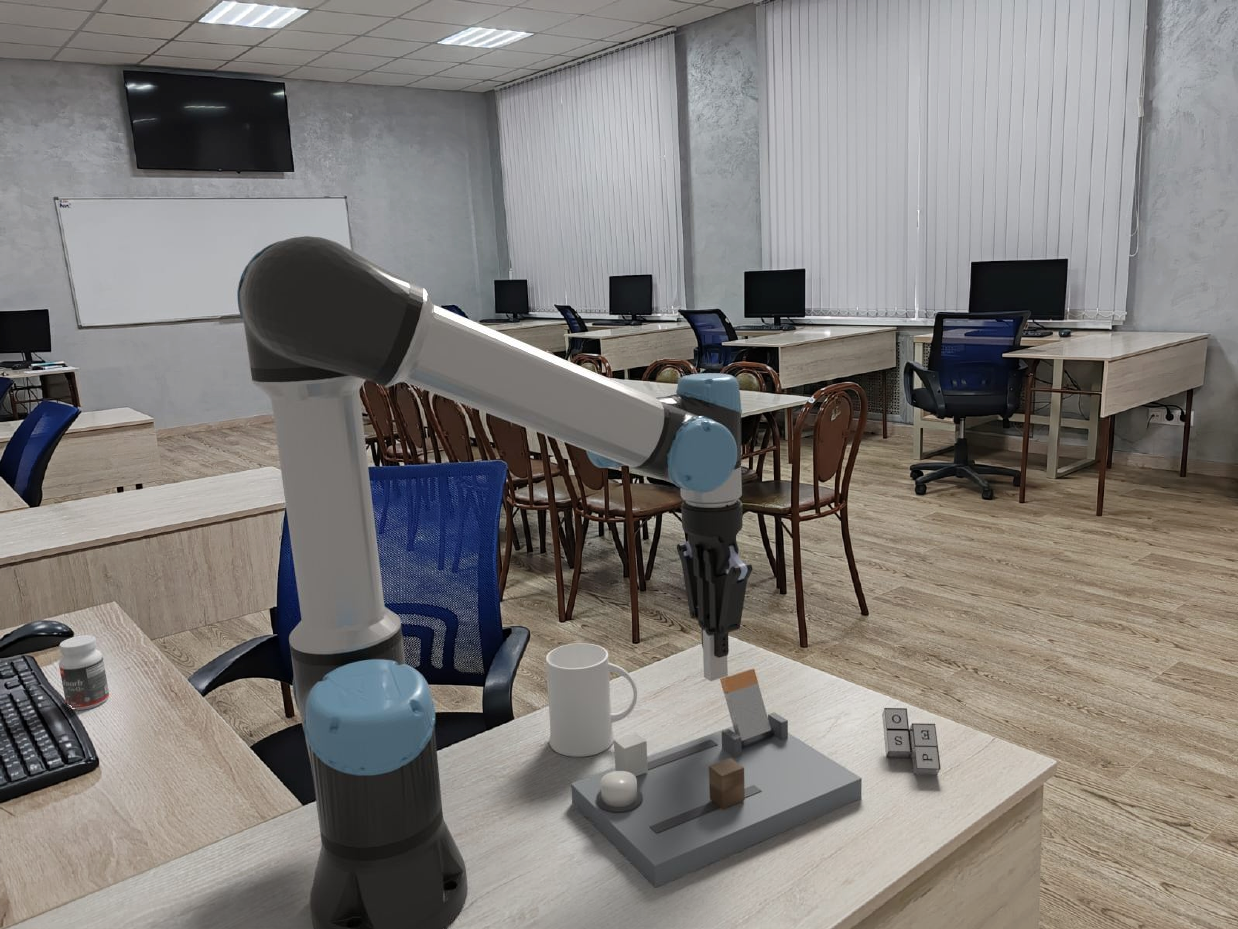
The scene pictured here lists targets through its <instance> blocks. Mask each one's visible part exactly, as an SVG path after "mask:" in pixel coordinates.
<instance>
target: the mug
mask: <svg viewBox="0 0 1238 929" xmlns="http://www.w3.org/2000/svg"><path fill="white" fill-rule="evenodd" d="M545 667H546V668H545V669H546V681H547V683H546V684H547V695H548V696H547V698H548V699H547V700H548V713H549V715H548V716H549V724H550V725H549V731H550V732H549V733H550V734H549V739H548V740H549V746H550V748H551V750H554V751H555V752H556V753H557V754H561V755H563V756H567V757H573V758H575V757H576V758H582V757H583V758H584V757H585V758H586V757H590V756H594V755H597V754H601V753H603V752H605V751H606V750H608V749H609V748H610V747H611V746H612V745H614V740H615V733H614V730H613V724H614V723H617V722H619V721H621V720H624V719H625V718H627V717H628V716H629V715H630V714H631V712H633V710H634V708H635V706H636V704H637V701H638V688H637V685H636V683H635V680H634V678H633V677H632V675H631V674H630V673H629V672H628V671H627V670H625V669H624V668H623V667H621V666H619V665H617V664H614V663H611V662H610V661H609V652H608V651H607V649H606V648H604V647H603V646H600V645H597V644H592V643H584V642H583V643H570V644H564V645H561V646H557V647H556V648H554V649H552V650H550V651H549V652H548V653H547V654H546V657H545ZM610 673H615V674H618V675H620V676H621V677H624V679H626V680H627V682H629V684H630V686H631V688H632V692H633V697H632V700H631V703H630V704H629V706H628V707H627V708H626V709H624V710H623V711H620V712H616V713H615V712H613V713H612V705H611V704H612V703H611V702H612V701H611V684H610V682H611V680H610Z"/></svg>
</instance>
